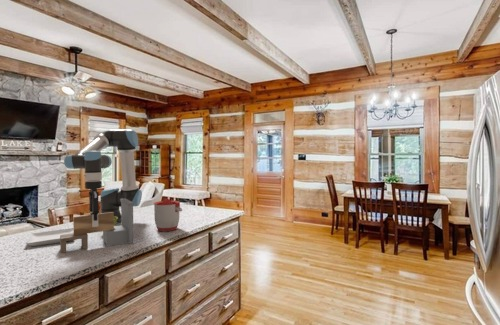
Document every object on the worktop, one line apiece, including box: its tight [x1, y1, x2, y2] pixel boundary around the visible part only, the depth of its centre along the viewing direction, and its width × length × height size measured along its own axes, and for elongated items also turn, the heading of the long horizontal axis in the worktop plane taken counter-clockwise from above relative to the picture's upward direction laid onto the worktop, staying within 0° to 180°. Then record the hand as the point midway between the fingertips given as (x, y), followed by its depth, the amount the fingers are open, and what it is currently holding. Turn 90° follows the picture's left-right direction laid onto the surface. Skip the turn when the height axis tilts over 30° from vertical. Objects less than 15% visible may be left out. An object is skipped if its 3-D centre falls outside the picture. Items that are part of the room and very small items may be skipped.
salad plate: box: [25, 227, 74, 247], centre depth 155 cm, size 21×21×3 cm
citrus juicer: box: [153, 197, 183, 232], centre depth 176 cm, size 16×17×20 cm
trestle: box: [60, 233, 89, 254], centre depth 140 cm, size 8×11×7 cm
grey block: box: [102, 198, 135, 247], centre depth 152 cm, size 19×12×22 cm, turn 37°
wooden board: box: [72, 212, 114, 235], centre depth 145 cm, size 3×18×14 cm, turn 127°
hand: (94, 225), depth 145 cm, fingers open, 6 cm apart
